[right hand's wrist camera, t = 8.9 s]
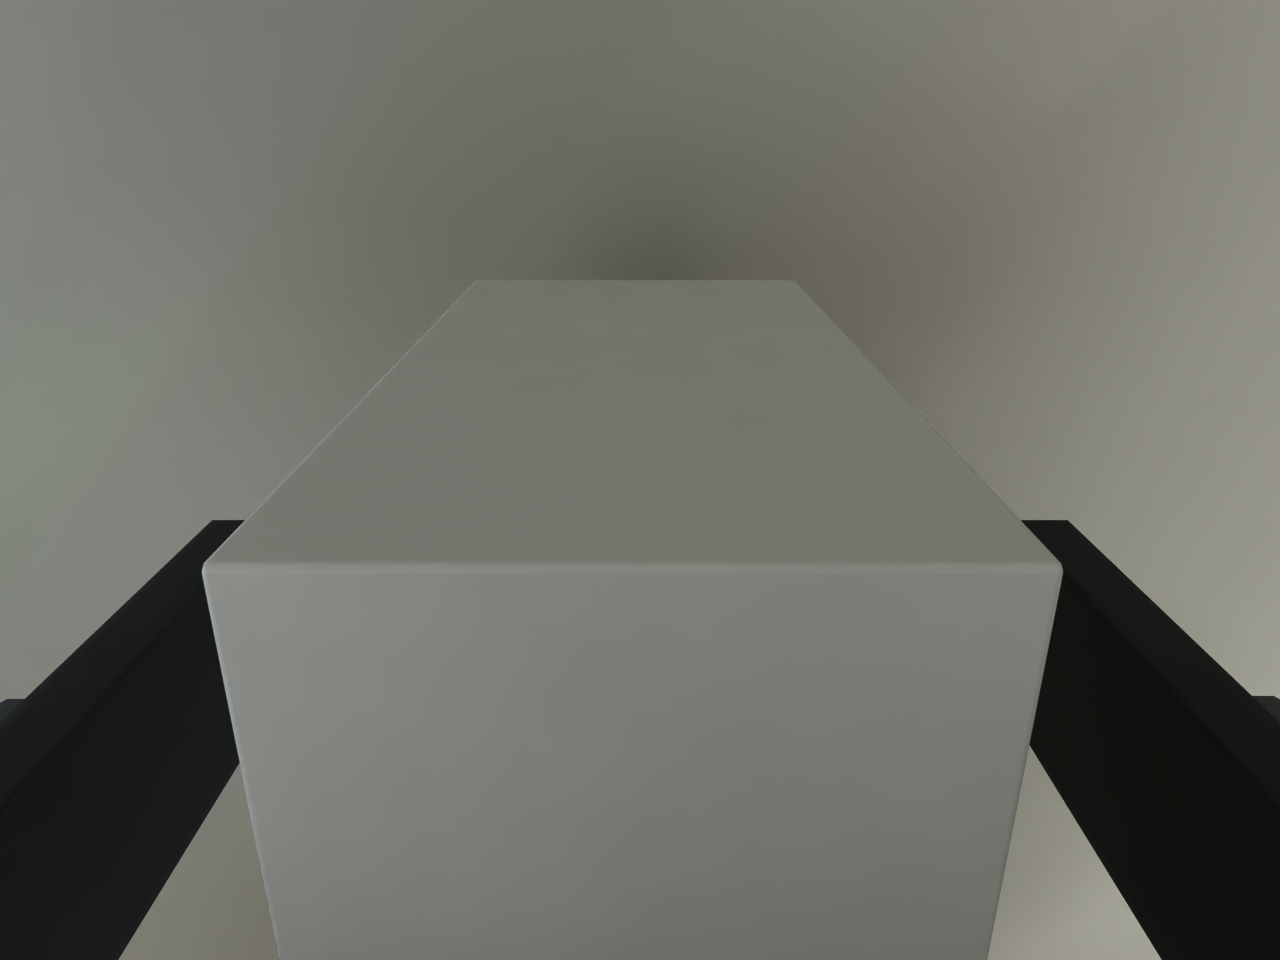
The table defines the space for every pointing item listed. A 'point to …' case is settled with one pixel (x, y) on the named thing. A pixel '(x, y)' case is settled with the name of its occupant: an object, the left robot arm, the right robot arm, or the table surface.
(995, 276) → the table surface
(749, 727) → the bar
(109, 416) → the table surface
